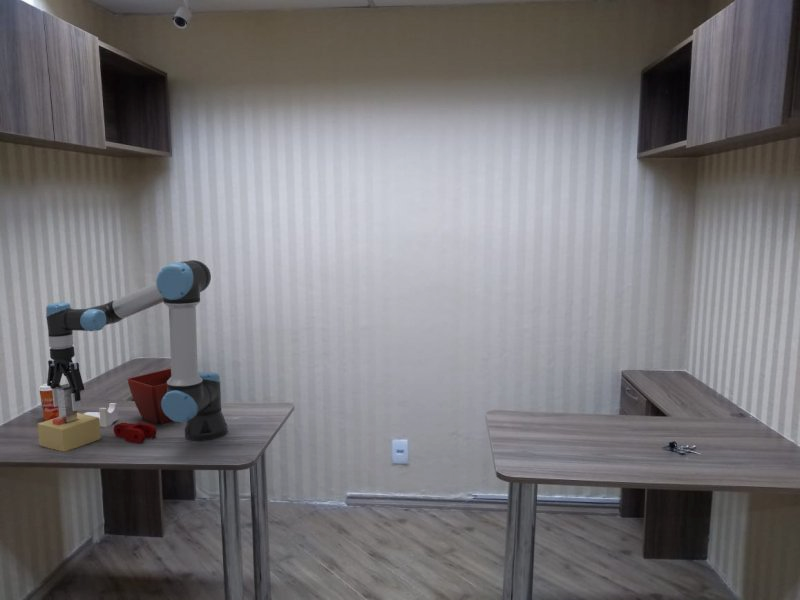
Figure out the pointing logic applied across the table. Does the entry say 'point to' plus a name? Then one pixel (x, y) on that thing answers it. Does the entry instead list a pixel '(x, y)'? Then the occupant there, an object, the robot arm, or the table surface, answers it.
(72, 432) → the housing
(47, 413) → the paper cup
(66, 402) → the column
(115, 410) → the bracket
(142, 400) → the plant pot
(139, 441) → the mechanical linkage
